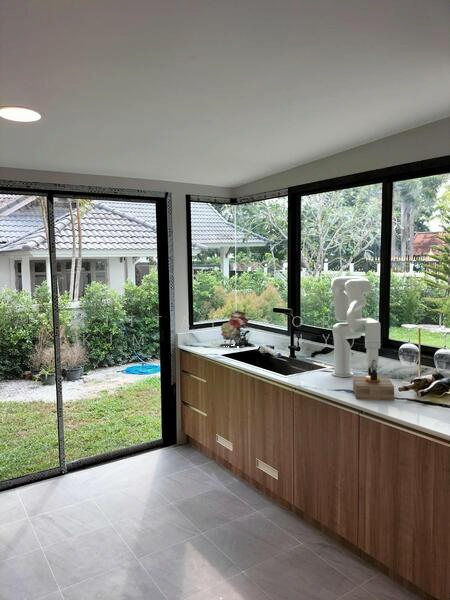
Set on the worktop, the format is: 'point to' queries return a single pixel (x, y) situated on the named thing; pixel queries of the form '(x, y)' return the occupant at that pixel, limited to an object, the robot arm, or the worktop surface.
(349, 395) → the worktop surface
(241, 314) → the rose bouquet
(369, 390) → the hitch block
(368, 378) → the pin
